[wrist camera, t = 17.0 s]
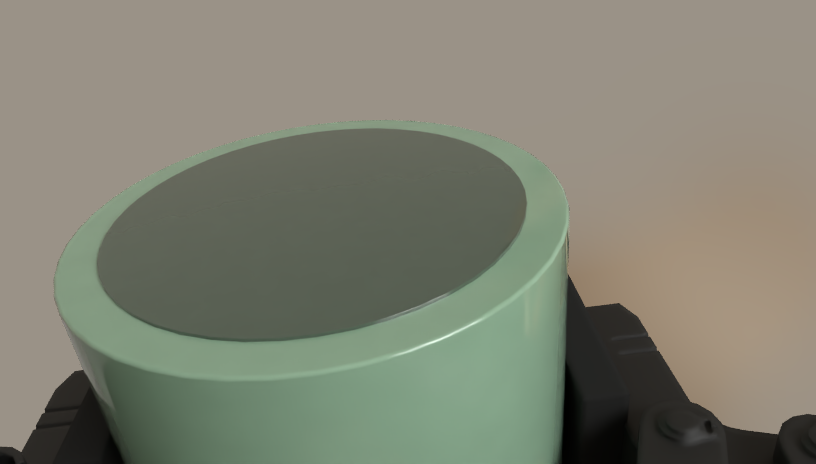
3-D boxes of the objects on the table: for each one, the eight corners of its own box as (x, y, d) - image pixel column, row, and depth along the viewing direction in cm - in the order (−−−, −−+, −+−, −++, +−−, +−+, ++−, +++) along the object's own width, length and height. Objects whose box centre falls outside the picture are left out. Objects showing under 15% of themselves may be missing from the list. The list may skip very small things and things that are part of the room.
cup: (156, 694, 15) (-64, 280, 9) (351, 452, 20) (284, 101, 15) (464, 928, 11) (398, 473, 6) (600, 556, 17) (633, 142, 11)
